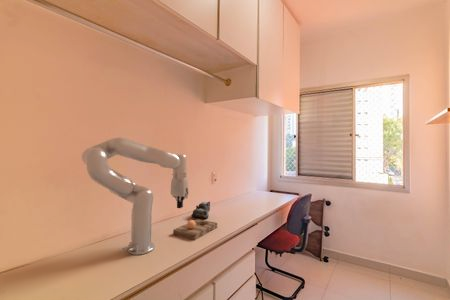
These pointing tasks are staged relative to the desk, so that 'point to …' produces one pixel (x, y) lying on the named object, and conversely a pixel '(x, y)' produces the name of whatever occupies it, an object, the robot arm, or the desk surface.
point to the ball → (191, 224)
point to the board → (195, 229)
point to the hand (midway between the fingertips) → (179, 207)
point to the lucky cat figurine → (202, 210)
